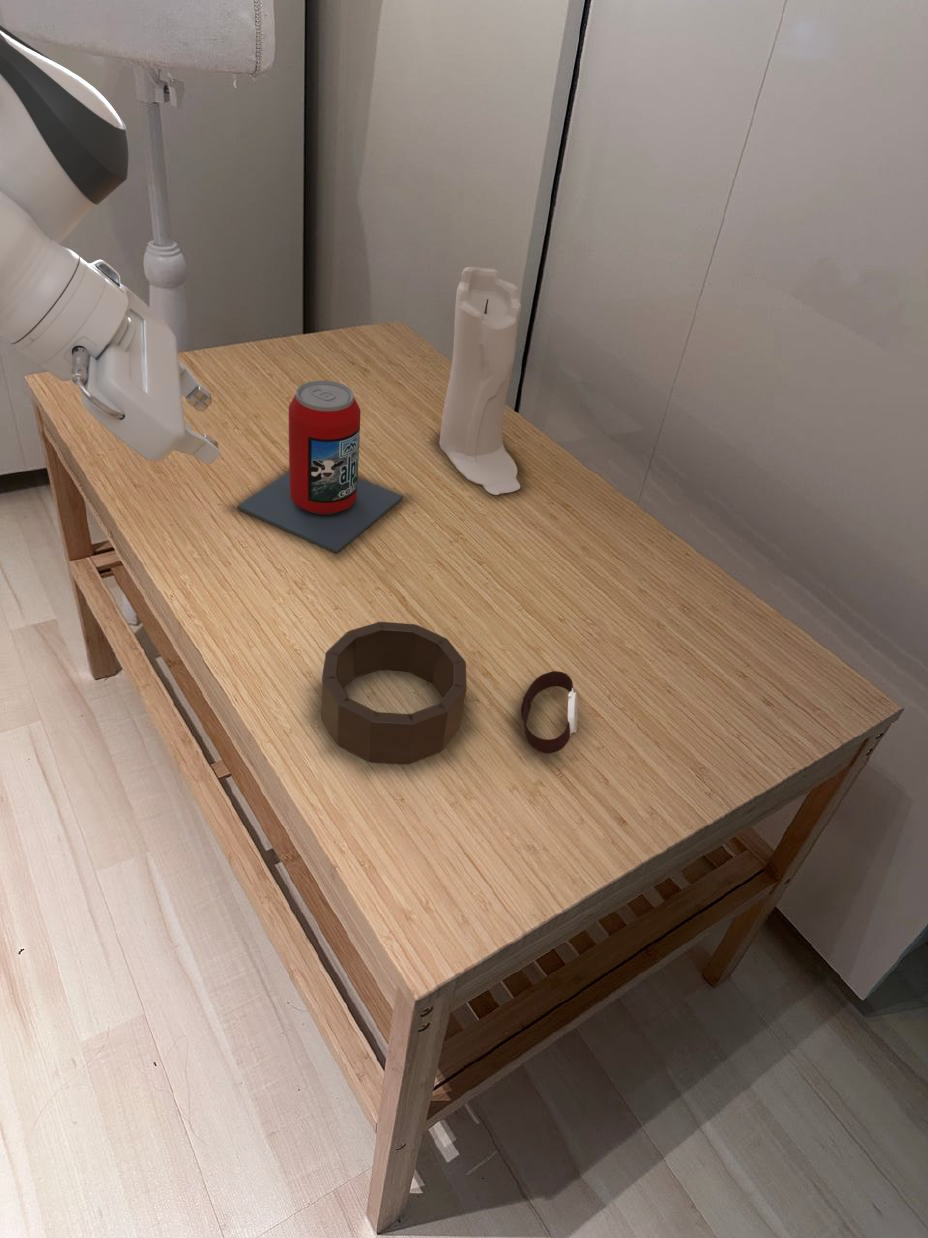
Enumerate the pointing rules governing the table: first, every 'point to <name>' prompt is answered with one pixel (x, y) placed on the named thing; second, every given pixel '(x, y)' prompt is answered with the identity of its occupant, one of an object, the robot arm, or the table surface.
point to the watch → (566, 682)
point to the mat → (320, 528)
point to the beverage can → (324, 447)
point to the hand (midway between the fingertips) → (210, 428)
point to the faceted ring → (393, 731)
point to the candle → (481, 379)
